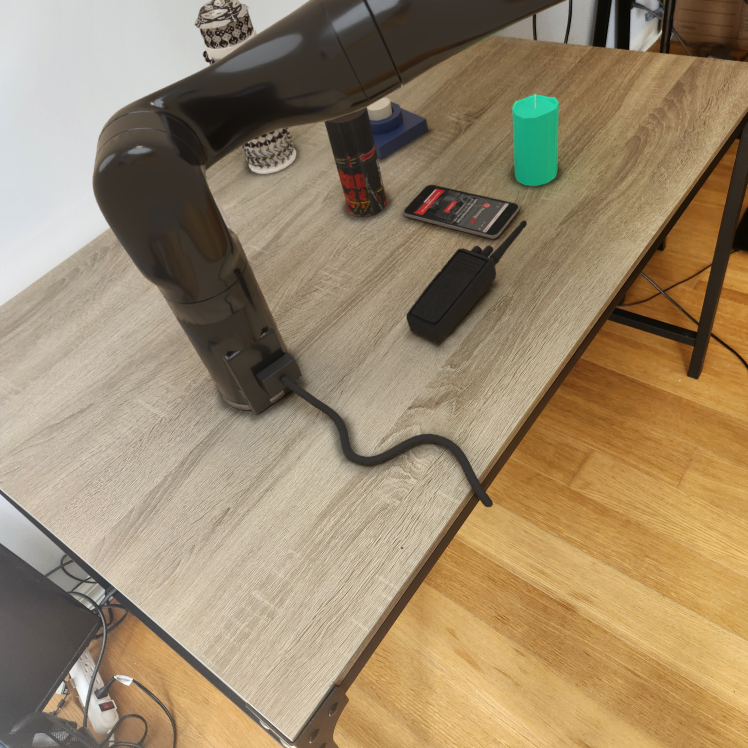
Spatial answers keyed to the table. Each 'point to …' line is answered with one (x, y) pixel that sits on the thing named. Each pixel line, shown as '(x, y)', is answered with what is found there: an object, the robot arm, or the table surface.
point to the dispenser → (396, 130)
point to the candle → (535, 139)
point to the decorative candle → (222, 36)
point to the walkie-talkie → (456, 289)
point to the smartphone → (462, 211)
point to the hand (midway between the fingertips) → (404, 43)
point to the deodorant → (357, 163)
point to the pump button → (380, 109)
